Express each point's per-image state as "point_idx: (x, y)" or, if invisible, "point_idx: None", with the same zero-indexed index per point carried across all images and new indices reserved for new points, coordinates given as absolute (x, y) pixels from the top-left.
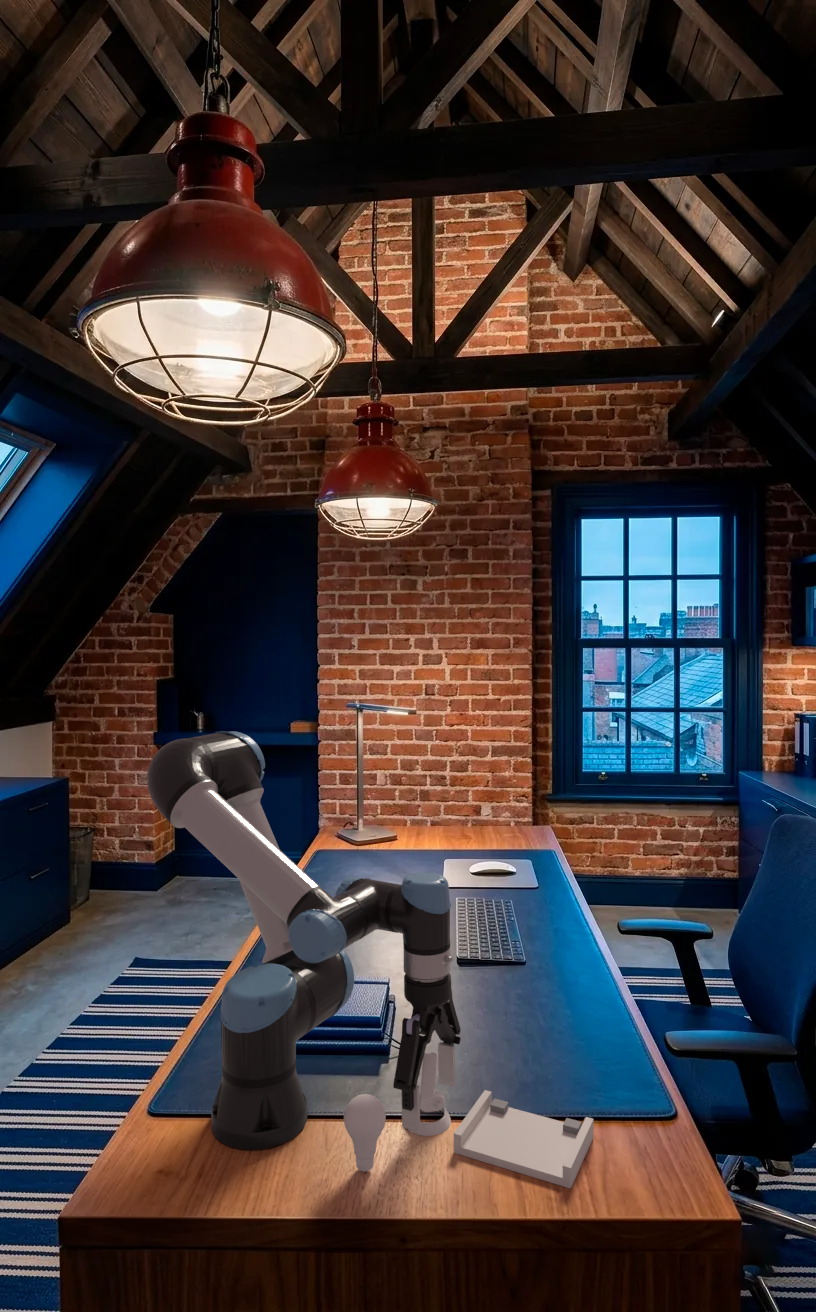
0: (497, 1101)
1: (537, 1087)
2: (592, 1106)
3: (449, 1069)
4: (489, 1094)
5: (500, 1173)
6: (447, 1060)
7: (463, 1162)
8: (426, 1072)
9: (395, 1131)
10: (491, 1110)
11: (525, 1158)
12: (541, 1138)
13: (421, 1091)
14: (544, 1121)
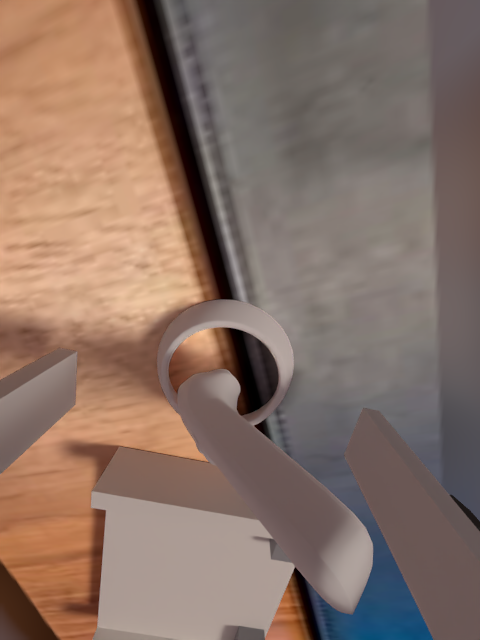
0: None
1: None
2: (355, 636)
3: (376, 496)
4: None
5: (94, 528)
6: (403, 531)
7: (96, 468)
8: (236, 484)
9: (149, 291)
10: None
11: (125, 581)
12: (201, 600)
13: (189, 417)
14: (263, 601)
